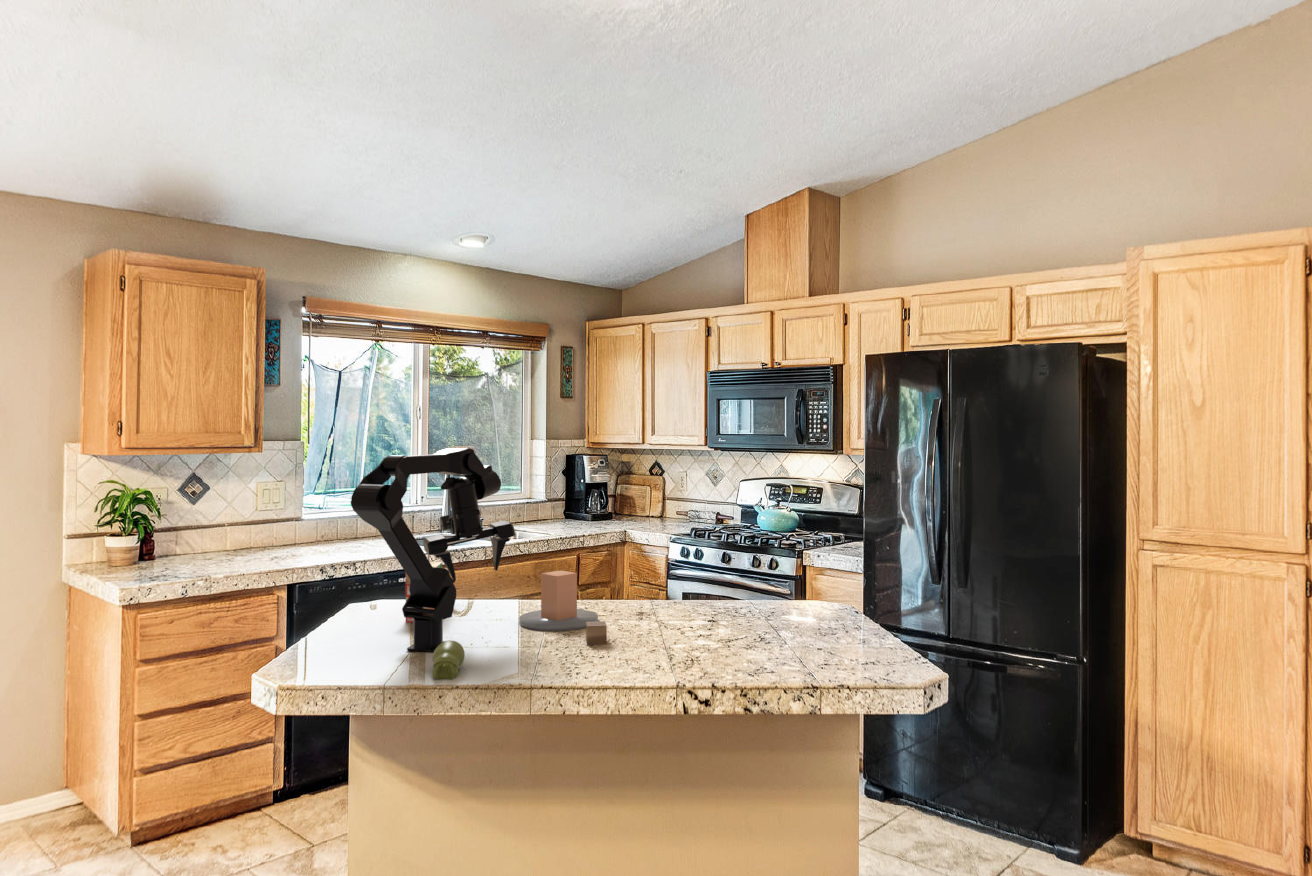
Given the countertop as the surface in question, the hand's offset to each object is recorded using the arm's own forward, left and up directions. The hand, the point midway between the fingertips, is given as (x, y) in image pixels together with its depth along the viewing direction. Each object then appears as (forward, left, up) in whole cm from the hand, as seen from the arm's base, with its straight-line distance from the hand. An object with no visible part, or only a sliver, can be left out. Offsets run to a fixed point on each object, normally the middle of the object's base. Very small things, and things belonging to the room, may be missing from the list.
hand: (475, 575), depth 182 cm
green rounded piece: (-30, -5, -13) cm, 33 cm away
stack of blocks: (+20, +18, -13) cm, 30 cm away
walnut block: (-5, -27, -13) cm, 31 cm away
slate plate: (+13, -15, -13) cm, 24 cm away
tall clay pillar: (+13, -15, -11) cm, 23 cm away
